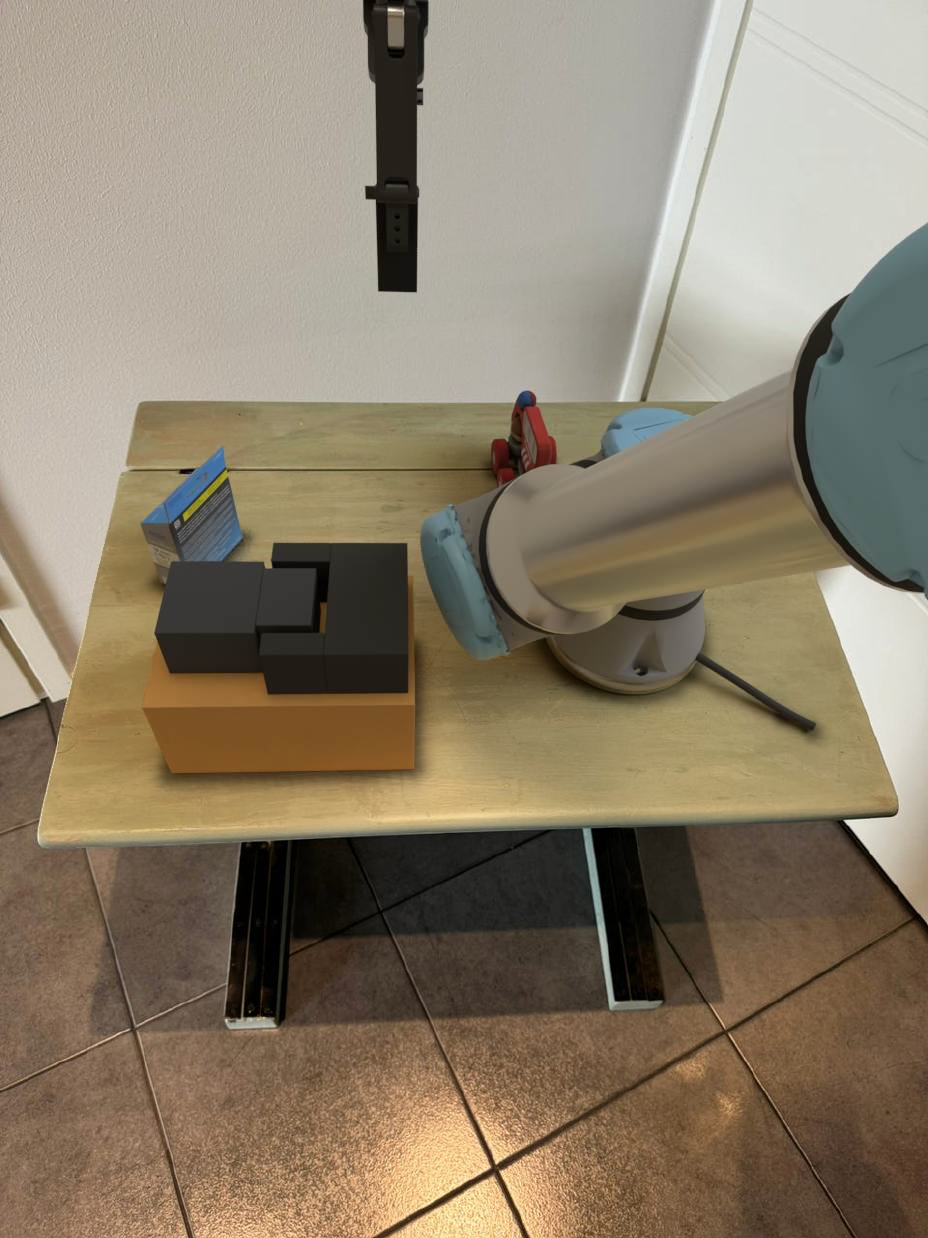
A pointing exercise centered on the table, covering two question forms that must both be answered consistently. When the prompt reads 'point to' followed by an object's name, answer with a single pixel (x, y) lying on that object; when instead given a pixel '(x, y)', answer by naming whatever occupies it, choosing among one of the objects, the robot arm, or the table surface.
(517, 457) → the toy fire truck
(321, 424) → the table surface
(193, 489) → the blue retail box
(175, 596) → the black stepped block
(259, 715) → the orange and black block
